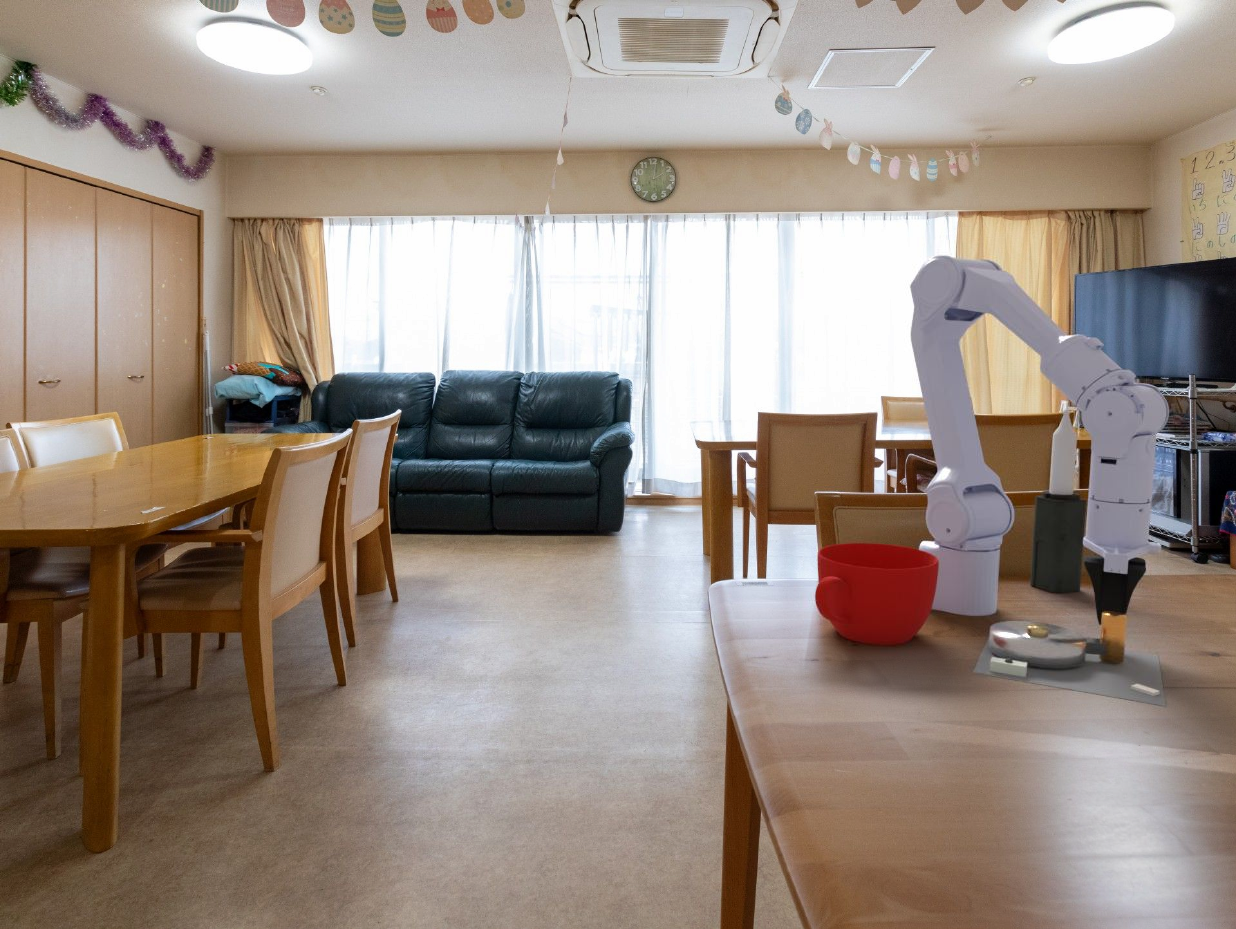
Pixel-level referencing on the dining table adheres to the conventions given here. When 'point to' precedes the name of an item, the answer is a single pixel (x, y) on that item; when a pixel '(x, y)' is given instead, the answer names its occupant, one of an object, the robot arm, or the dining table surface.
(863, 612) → the ceramic cup
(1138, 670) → the stand
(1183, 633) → the dining table surface
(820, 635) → the dining table surface
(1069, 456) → the black and white bottle
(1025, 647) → the crank wheel
